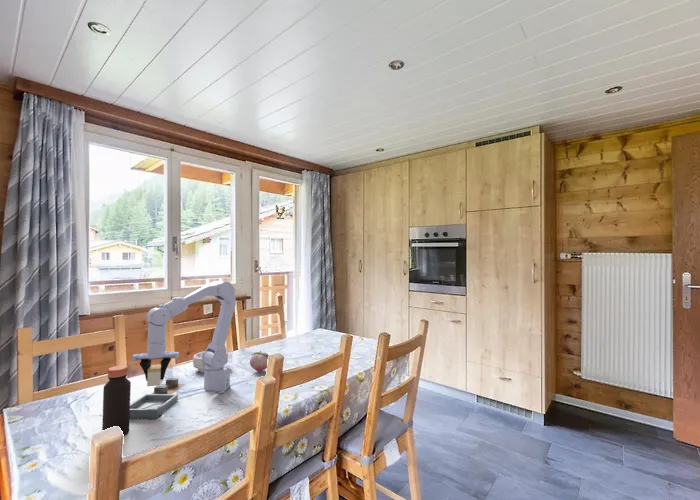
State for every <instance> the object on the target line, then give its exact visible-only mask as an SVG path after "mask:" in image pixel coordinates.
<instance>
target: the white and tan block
mask: <svg viewBox="0 0 700 500" xmlns="http://www.w3.org/2000/svg"><path fill="white" fill-rule="evenodd" d="M164 380H165V378H164V379H163V380H161V363H160V364H158V363H157V364H151V366H150V367H149V368H148V376H147V381H146V382H147V383H146V385H147V386H146V387H156V386H161V384H162V383H163V382H164Z"/></svg>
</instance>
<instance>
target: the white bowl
mask: <svg viewBox="0 0 700 500" xmlns="http://www.w3.org/2000/svg"><path fill="white" fill-rule="evenodd" d="M205 351H206V350H204V351H200V352H198V353H195V354H194V355H193V357H192V366H193V367H194V368H195V369H197V371H198V372H199V373H201V374H204V367H205V363H204V362H203V361H202V355H203V353H204V352H205ZM228 356H229V354H228V352H226V363H225V365H227V364H228V361H229V359H228V358H229V357H228Z"/></svg>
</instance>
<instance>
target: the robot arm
mask: <svg viewBox="0 0 700 500" xmlns="http://www.w3.org/2000/svg"><path fill="white" fill-rule="evenodd" d="M235 291H236V288H235V287H234V285H233V284H232V283H231V282H229V281H222V280H213V281H212V282H209V283H206V284H205V285H203V286H202V287H200V288H198V289H197V290H195V291H192V292H191V293H190V294H188V295H186V296H184V297H183V296H178V297H176V296H174V297H172V298H171V300H170V301H168V302H166V303H164V304H162V303H161V304H159V305H158V307H154V308H153V307H152V308H151V309H150V310H148V312H147V313H146V315H145V320H146V321H147V323H148V325H147V341H146V342H147V344H146V345H147V346H146V348H147V349H146V352H143V353H136V354H135V353H134V354H133V355H132V359H131V361H132V362H136V361H140V362H139V366H140V367H141V369H142V371H143V373H144V377H145V381H146V382H147V376H148V368H149V367H150V366H151V365H152V360H160V364H161V380H163V379H164V380H165V375H166V372H167V368H168V366H169V364H170V362H171V360H172V359H175V360H176V359H178V358H179V357H180V356H179V355H180V352H179V351H166V344H167V343H166V342H167V341H166V338H167V323H168V322H169V319H171V318H174V317H175V316H177V315H180V314H181V313H183V312H184V311H186V310H187V308H188V307H189V305H191V304H193V303H195V302H197V301H199V300H202V299H203V298H205V297H208V296H210V297H215V298H216V299H217V300H218V301H219V302H220V304H221V306H220V310H219V313H218V316H217V317H218V318H217V321H216V324H215V328H214V331H213V335H212V339H211V342H210V343H209V344H208V345H207V347H206V350H204V351H205V352H204V353H203V355H202V361H203V362H204V363H205V367H204V373H203V390H204V391H207V392H208V391H209V392H213V391H216V392H215V394H223V393H225V392H226V391H227V390H228V389H229V388H230V386H231V384H230V382H231V380H230V379H231V369H230V368H229V367H226V366H225V365H226V364H227V363H226V352H227V348H226V342H227V338H228V333H229V331H230V327H231V322H232V319H233V315H234V312H235V310H236V309H235V308H236V305H237V299H236V294H235ZM227 353H228V352H227ZM225 363H226V364H225ZM164 380H163V381H164Z"/></svg>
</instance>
